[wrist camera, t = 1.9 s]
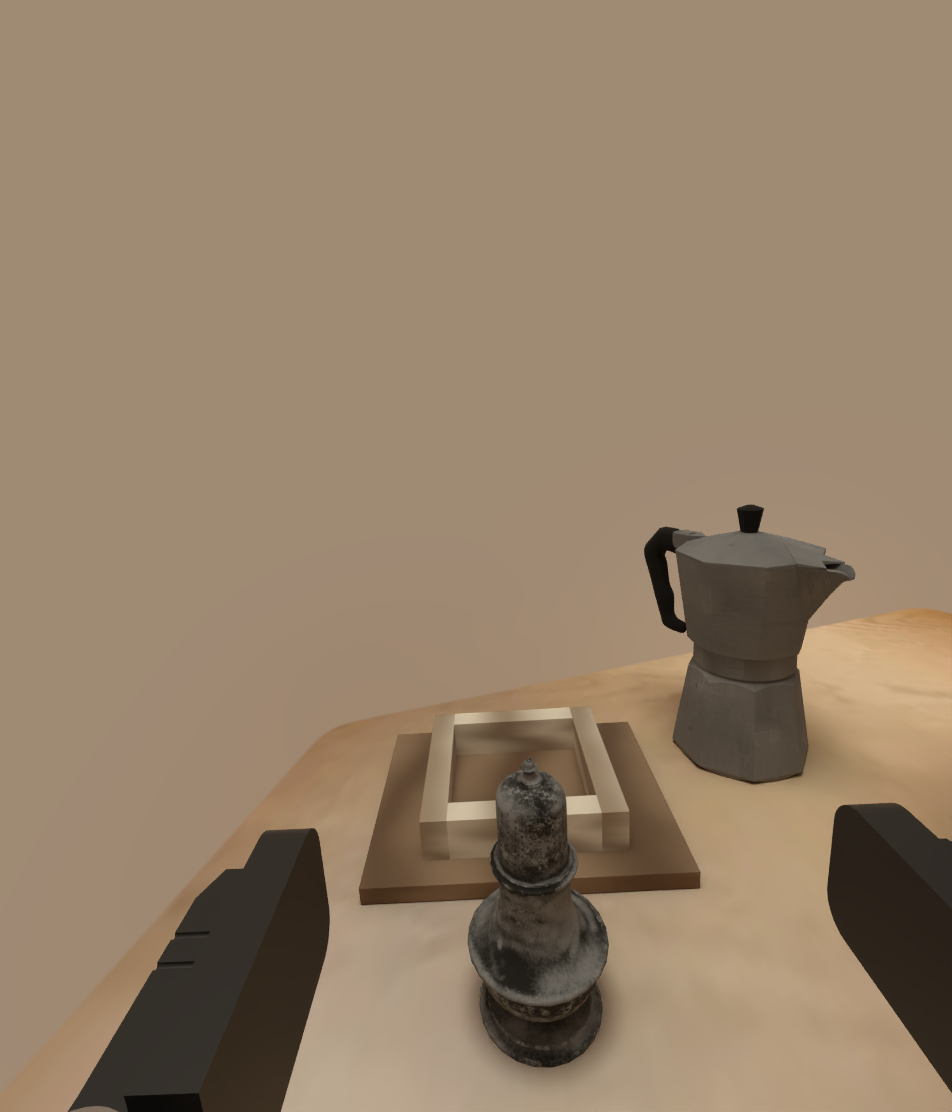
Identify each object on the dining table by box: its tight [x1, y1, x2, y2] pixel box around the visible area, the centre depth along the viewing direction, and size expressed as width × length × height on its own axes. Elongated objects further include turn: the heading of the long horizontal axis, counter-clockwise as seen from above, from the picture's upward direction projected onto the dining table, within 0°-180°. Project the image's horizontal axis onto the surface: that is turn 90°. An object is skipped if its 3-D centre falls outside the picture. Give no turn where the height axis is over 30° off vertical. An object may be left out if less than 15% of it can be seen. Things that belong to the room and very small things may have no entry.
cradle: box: [359, 706, 700, 904], centre depth 37 cm, size 18×15×4 cm
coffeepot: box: [644, 505, 855, 782], centre depth 41 cm, size 15×9×18 cm, turn 32°
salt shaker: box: [468, 757, 609, 1067], centre depth 23 cm, size 6×6×12 cm
